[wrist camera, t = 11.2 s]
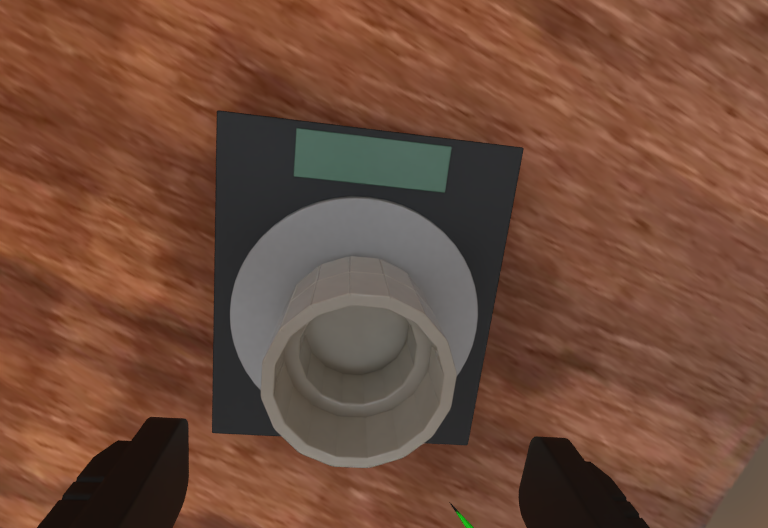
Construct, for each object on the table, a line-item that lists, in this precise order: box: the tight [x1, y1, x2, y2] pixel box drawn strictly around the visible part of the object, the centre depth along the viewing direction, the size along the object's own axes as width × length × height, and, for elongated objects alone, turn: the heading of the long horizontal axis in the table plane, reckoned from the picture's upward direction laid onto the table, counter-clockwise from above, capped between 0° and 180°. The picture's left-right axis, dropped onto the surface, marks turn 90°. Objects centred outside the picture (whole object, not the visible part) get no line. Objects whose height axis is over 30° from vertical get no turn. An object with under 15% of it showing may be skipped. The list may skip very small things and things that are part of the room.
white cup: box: [261, 256, 457, 468], centre depth 16 cm, size 6×6×5 cm
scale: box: [212, 111, 523, 445], centre depth 20 cm, size 14×12×3 cm
